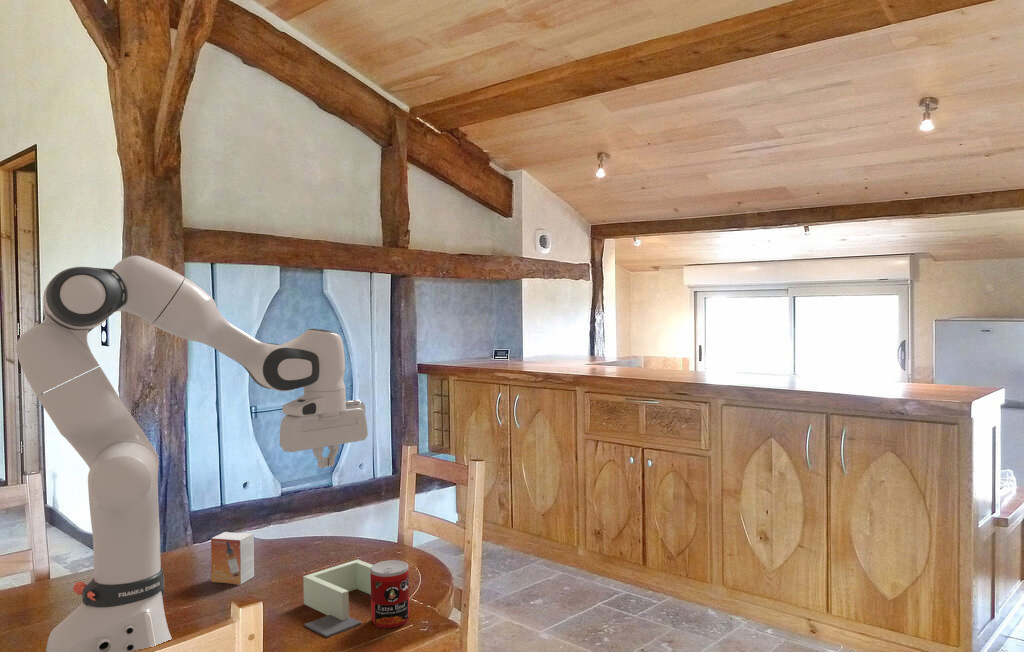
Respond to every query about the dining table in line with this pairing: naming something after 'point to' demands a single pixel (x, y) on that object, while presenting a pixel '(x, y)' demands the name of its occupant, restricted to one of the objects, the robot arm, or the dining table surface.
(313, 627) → the mat
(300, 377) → the robot arm
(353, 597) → the dining table surface
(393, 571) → the canned food
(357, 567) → the dock
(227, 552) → the small box
